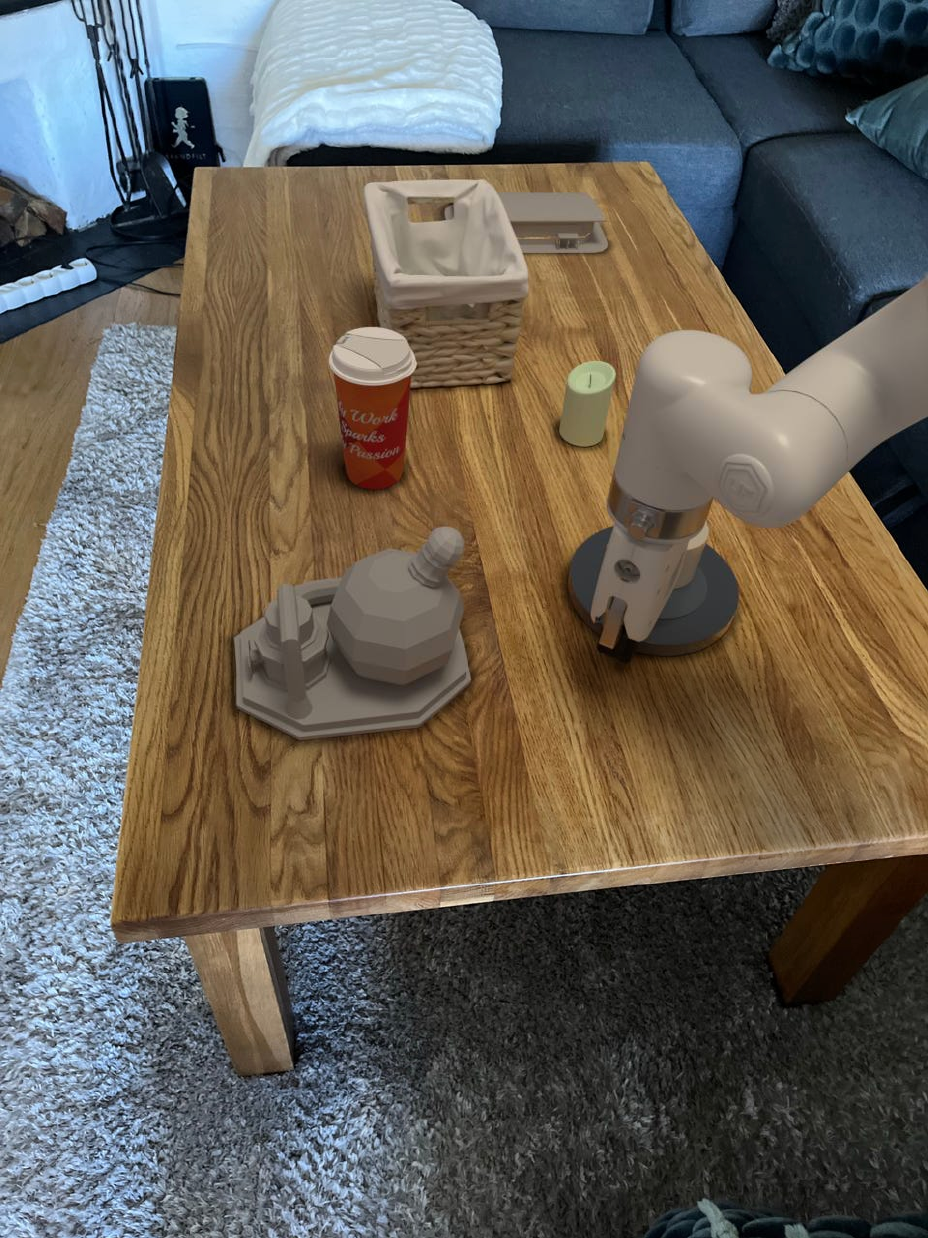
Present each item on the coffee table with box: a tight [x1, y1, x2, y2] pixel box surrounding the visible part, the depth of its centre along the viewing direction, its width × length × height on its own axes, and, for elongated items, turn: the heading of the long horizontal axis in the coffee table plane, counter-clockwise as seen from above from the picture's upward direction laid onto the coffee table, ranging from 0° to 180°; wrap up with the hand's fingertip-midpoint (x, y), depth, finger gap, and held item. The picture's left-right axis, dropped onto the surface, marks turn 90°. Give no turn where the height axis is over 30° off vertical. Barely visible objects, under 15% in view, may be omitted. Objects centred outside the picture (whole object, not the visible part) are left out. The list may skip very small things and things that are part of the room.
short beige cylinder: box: [674, 521, 710, 589], centre depth 88 cm, size 6×6×5 cm
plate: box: [567, 525, 740, 657], centre depth 89 cm, size 16×16×2 cm
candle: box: [558, 360, 617, 448], centre depth 102 cm, size 5×5×8 cm
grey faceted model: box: [233, 526, 472, 741], centre depth 76 cm, size 20×15×15 cm
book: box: [443, 191, 609, 254], centre depth 136 cm, size 15×23×4 cm, turn 97°
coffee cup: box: [328, 326, 417, 491], centre depth 94 cm, size 8×8×15 cm
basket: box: [363, 178, 530, 389], centre depth 111 cm, size 24×16×15 cm
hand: (615, 651), depth 83 cm, fingers closed
